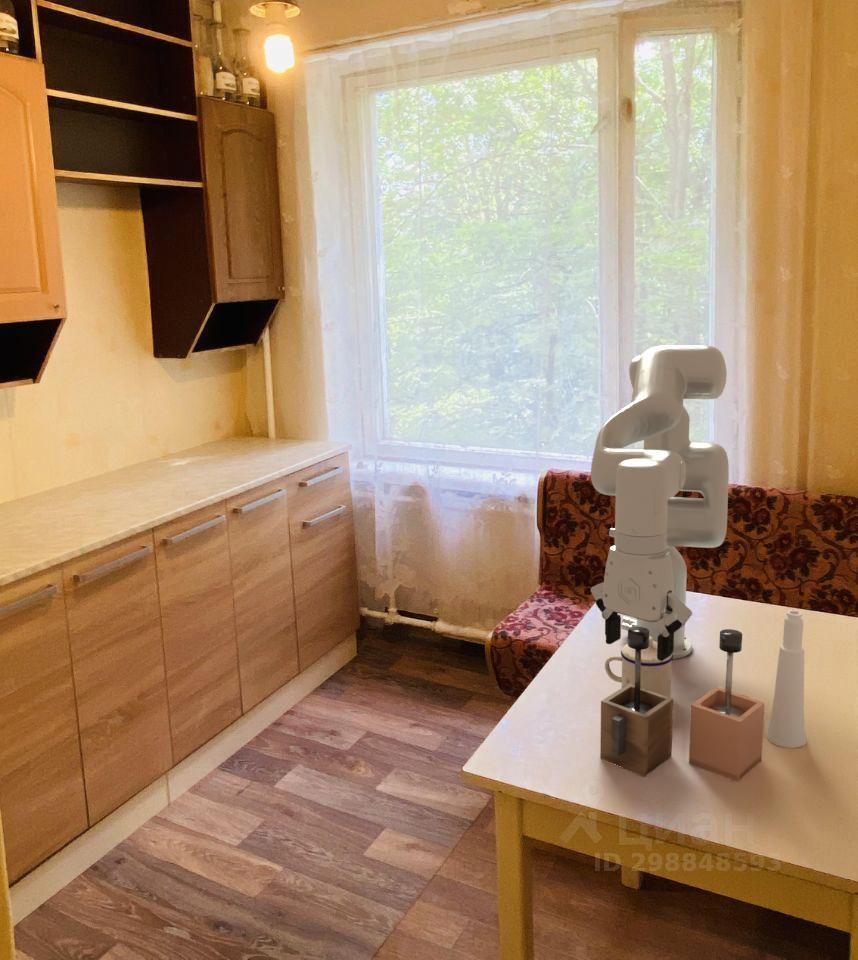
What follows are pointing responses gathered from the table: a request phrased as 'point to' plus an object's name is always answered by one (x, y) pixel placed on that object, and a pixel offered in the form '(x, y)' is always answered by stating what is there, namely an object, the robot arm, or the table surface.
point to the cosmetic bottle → (789, 687)
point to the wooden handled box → (636, 731)
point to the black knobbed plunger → (729, 669)
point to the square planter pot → (726, 735)
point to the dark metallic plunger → (638, 666)
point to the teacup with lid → (644, 669)
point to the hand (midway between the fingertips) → (638, 649)
